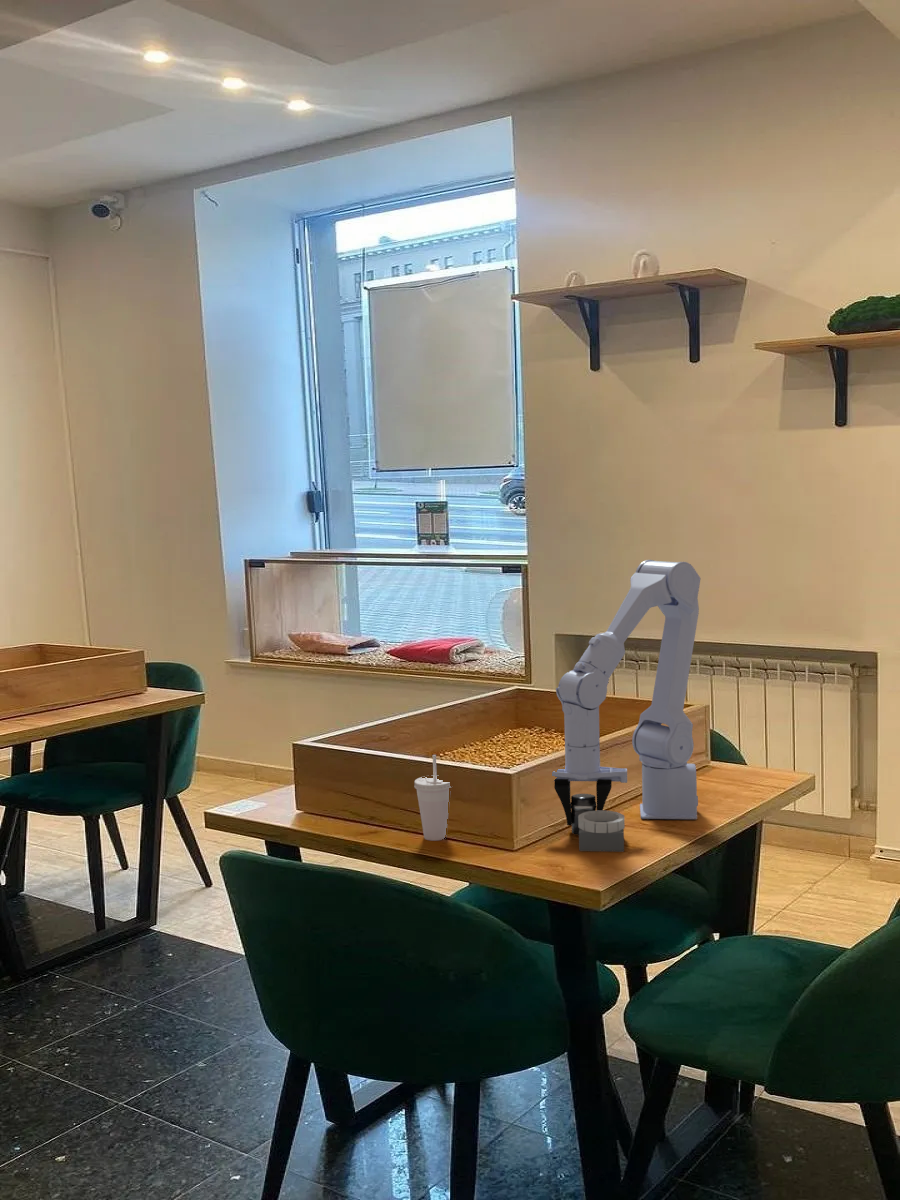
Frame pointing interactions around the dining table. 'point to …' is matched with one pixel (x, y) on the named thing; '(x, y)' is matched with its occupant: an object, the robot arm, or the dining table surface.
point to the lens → (581, 808)
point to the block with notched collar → (601, 831)
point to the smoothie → (433, 805)
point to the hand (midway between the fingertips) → (583, 823)
